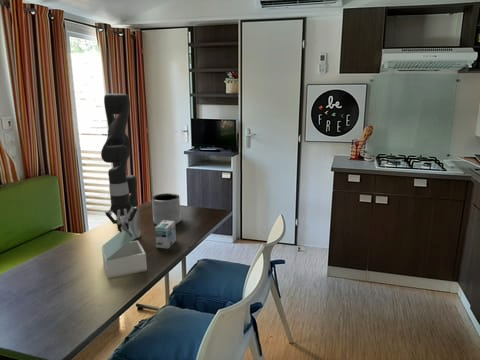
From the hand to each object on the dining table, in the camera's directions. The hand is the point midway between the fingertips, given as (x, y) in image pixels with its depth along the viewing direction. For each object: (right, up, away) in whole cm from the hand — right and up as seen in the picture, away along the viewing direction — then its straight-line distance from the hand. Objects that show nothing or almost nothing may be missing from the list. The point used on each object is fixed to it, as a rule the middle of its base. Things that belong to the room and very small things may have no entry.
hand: (123, 231), depth 156 cm
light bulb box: (+13, -11, +27) cm, 32 cm away
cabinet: (-1, -16, +4) cm, 17 cm away
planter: (+7, -3, +58) cm, 59 cm away
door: (-2, -5, 0) cm, 5 cm away
